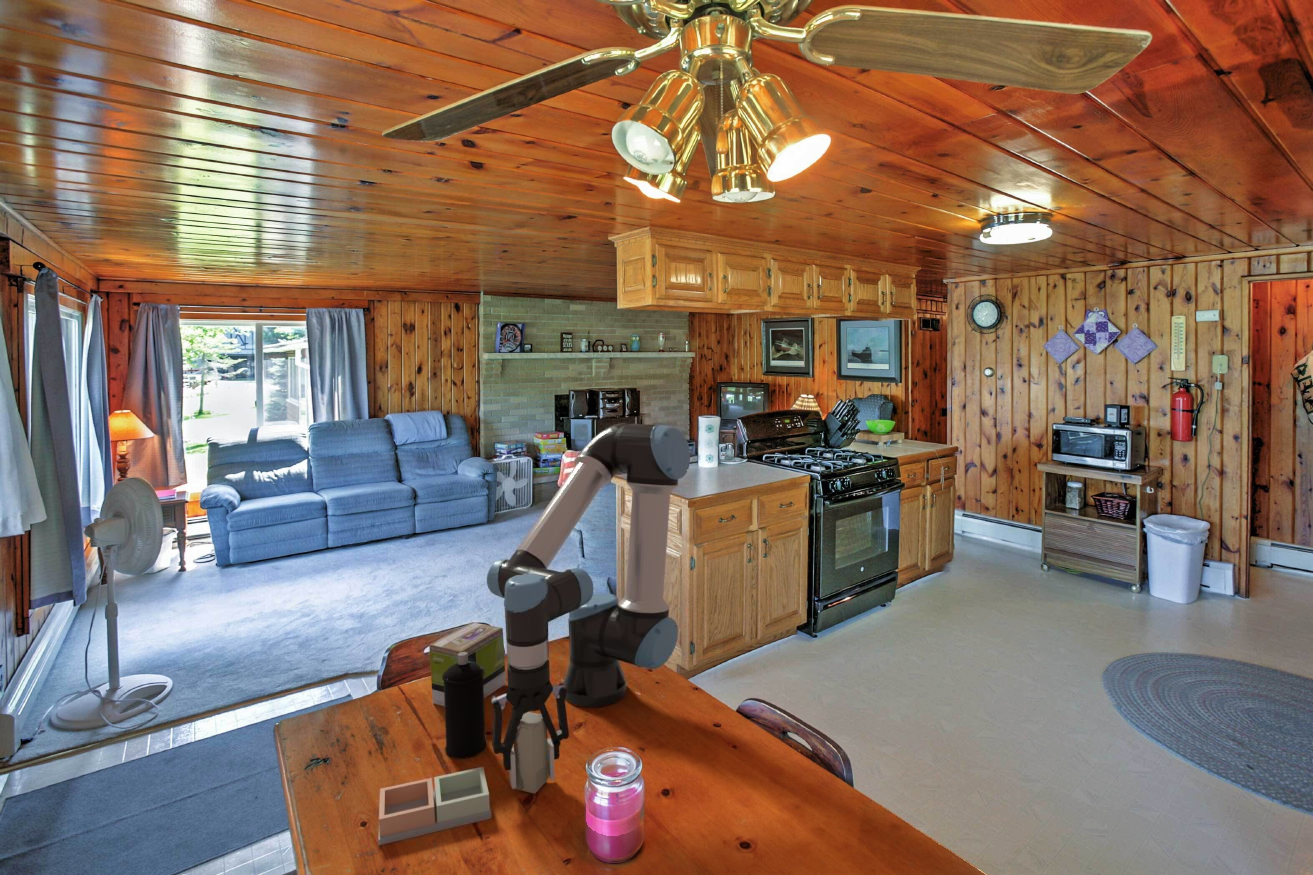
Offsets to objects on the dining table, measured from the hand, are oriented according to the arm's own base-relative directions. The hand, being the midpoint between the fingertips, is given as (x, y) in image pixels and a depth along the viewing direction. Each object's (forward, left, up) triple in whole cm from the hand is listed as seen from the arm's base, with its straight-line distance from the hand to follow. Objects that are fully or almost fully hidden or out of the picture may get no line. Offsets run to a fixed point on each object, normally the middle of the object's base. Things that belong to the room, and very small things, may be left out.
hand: (532, 779), depth 124 cm
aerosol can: (+10, -18, -2) cm, 21 cm away
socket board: (+17, +1, -1) cm, 17 cm away
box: (0, 0, -1) cm, 1 cm away
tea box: (+7, -41, -2) cm, 41 cm away
